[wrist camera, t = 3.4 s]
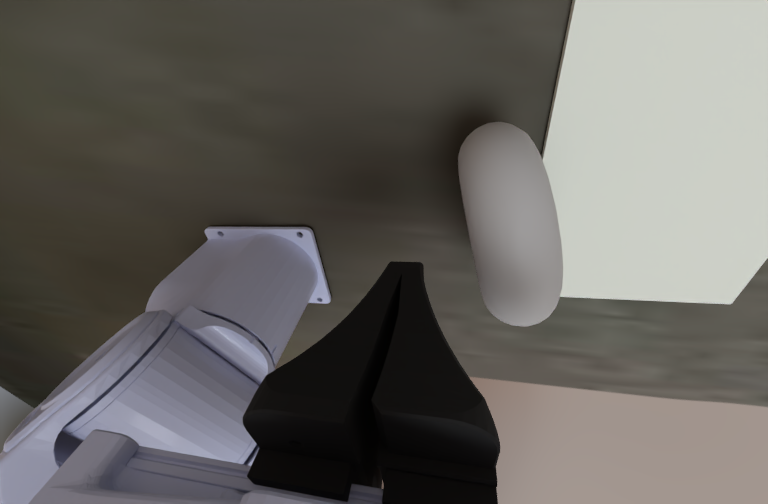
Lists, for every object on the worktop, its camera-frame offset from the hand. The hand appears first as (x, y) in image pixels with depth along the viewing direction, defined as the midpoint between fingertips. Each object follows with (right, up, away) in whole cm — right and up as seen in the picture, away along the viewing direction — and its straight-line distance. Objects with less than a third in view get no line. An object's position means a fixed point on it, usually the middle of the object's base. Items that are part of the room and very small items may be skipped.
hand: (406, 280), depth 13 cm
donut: (+6, +6, +7) cm, 11 cm away
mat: (+15, +5, +5) cm, 17 cm away
